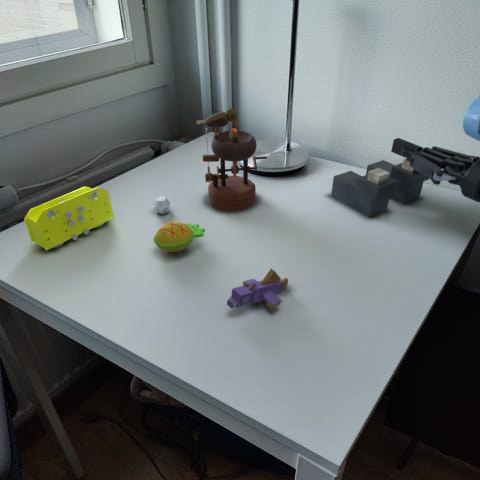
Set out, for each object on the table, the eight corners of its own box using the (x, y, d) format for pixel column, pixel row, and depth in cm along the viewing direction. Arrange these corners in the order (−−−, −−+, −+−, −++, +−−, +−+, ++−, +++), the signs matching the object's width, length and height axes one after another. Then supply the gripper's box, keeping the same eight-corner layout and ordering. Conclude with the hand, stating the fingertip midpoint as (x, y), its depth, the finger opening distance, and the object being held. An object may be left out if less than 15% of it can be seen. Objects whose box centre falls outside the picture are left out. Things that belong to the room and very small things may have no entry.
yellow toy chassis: (48, 255, 87) (35, 215, 82) (32, 244, 90) (18, 205, 84) (115, 222, 96) (108, 184, 91) (99, 213, 99) (90, 176, 94)
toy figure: (244, 334, 73) (245, 313, 69) (214, 301, 77) (214, 279, 72) (301, 300, 77) (306, 279, 73) (271, 271, 81) (273, 249, 77)
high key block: (391, 212, 99) (398, 181, 94) (371, 219, 96) (377, 188, 92) (348, 189, 107) (353, 160, 102) (329, 196, 104) (333, 166, 100)
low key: (421, 170, 99) (424, 161, 98) (412, 173, 98) (414, 164, 96) (410, 165, 101) (412, 156, 99) (401, 168, 100) (403, 159, 98)
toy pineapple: (149, 247, 89) (145, 222, 85) (193, 231, 93) (191, 207, 90) (165, 264, 85) (162, 238, 81) (212, 246, 89) (210, 222, 85)
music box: (209, 217, 98) (201, 116, 86) (197, 198, 106) (188, 104, 94) (276, 205, 101) (277, 107, 89) (259, 188, 110) (258, 96, 98)
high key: (387, 182, 95) (389, 172, 93) (377, 186, 93) (379, 176, 92) (376, 177, 97) (378, 167, 95) (366, 180, 95) (368, 171, 94)
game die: (157, 206, 101) (156, 194, 99) (173, 208, 101) (172, 196, 99) (151, 214, 99) (149, 201, 97) (167, 216, 98) (165, 203, 96)
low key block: (423, 199, 103) (432, 169, 98) (405, 206, 101) (413, 175, 96) (380, 178, 111) (386, 149, 106) (362, 184, 109) (368, 155, 104)
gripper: (463, 212, 85) (370, 168, 100) (505, 194, 91) (411, 155, 106) (476, 173, 80) (376, 133, 95) (520, 156, 86) (419, 121, 101)
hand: (394, 144), depth 100 cm, fingers closed
